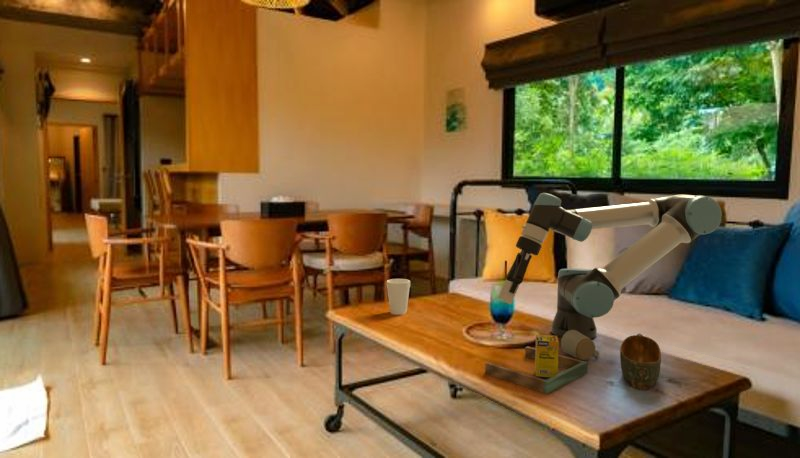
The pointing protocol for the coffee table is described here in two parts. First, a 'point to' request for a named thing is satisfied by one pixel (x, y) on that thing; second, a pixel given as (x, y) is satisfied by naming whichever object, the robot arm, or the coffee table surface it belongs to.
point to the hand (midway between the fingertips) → (503, 301)
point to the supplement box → (546, 356)
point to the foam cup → (398, 295)
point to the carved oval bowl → (640, 361)
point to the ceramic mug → (578, 345)
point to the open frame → (546, 386)
